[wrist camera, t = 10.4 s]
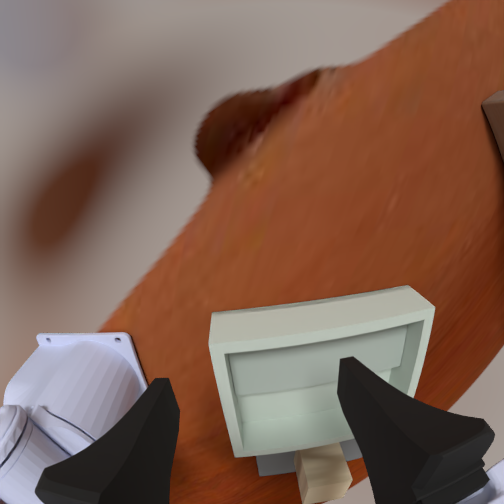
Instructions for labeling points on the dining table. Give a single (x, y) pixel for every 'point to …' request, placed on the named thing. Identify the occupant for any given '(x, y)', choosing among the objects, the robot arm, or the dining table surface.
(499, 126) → the wooden block structure
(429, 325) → the box
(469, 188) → the dining table surface
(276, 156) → the dining table surface
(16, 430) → the robot arm
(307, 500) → the birch block
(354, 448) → the mat
